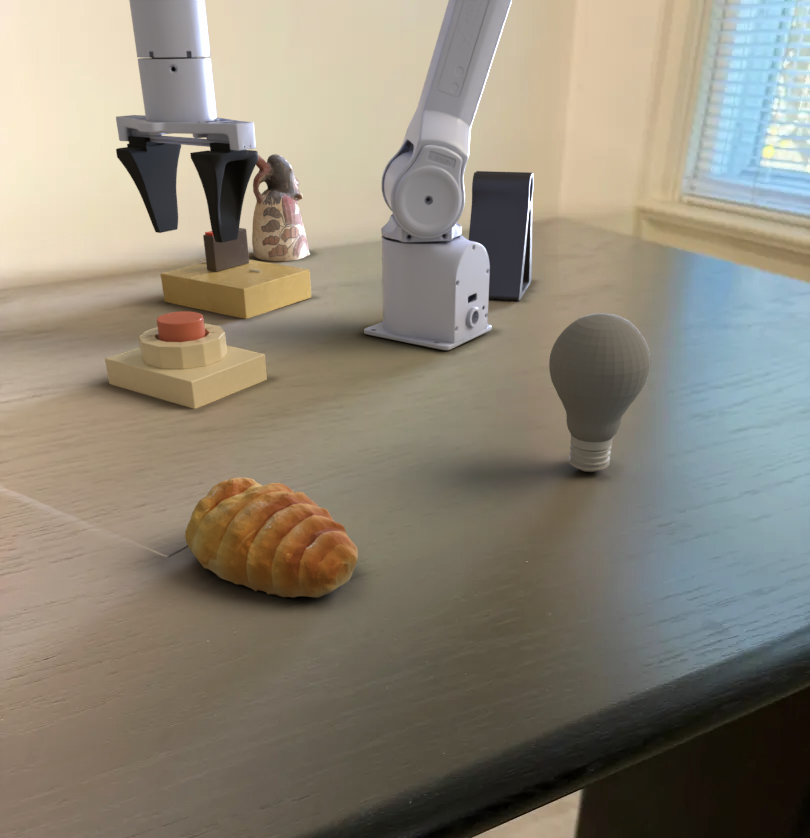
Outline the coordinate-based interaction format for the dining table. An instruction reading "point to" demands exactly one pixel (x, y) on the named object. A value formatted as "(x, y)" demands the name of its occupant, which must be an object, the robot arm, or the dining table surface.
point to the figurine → (277, 213)
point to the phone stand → (504, 229)
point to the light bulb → (597, 382)
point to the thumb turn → (226, 251)
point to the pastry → (270, 539)
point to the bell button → (180, 326)
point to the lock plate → (237, 288)
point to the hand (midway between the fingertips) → (195, 235)
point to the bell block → (186, 368)
